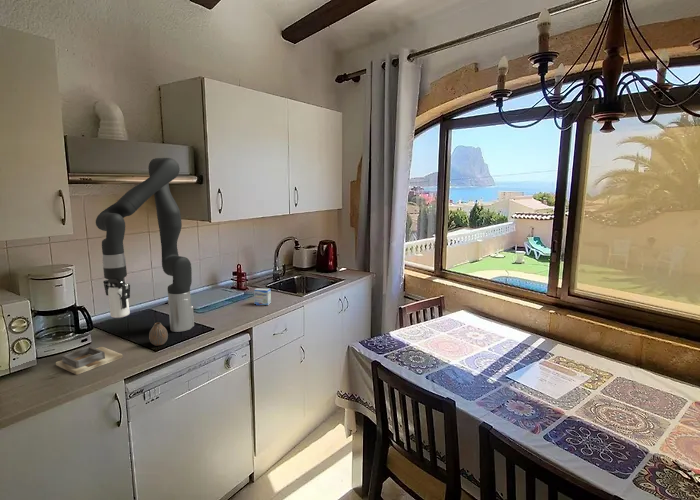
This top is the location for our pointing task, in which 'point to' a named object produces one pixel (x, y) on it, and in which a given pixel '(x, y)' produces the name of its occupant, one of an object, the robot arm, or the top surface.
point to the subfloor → (87, 359)
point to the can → (117, 303)
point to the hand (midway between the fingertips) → (118, 307)
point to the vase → (158, 334)
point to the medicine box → (262, 296)
